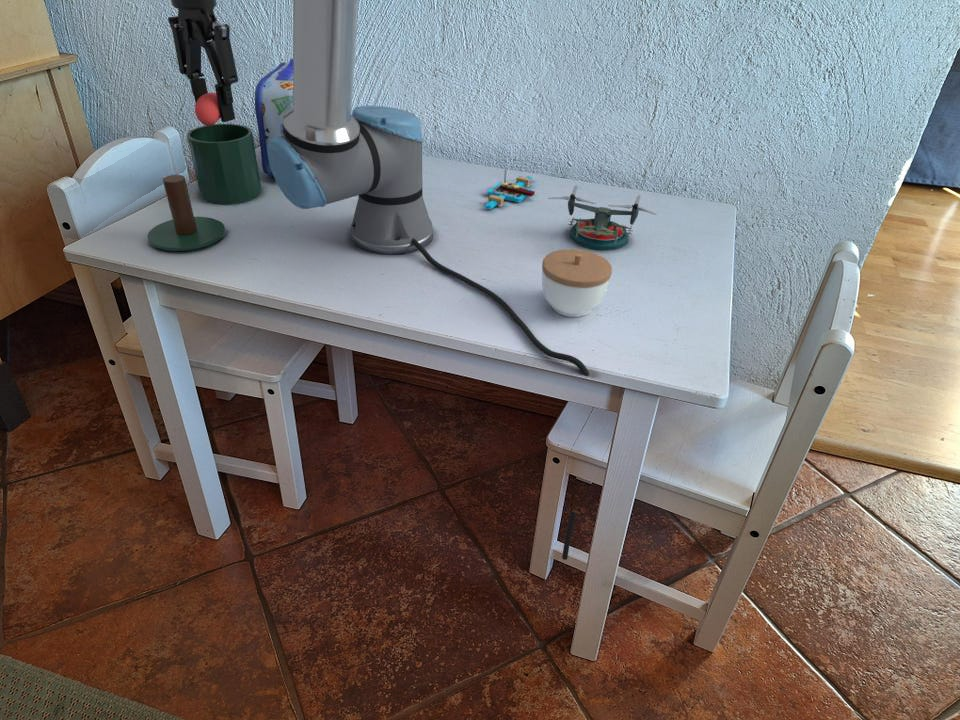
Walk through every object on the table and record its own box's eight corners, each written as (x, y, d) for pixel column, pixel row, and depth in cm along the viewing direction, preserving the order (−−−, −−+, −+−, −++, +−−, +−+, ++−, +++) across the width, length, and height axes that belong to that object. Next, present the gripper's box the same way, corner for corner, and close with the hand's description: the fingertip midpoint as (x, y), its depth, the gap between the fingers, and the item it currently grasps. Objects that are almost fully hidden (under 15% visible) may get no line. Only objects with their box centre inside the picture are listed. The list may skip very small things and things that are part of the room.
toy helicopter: (653, 233, 129) (661, 192, 124) (646, 268, 117) (655, 225, 112) (554, 217, 133) (558, 178, 128) (537, 250, 121) (541, 207, 116)
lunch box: (288, 144, 163) (275, 48, 150) (329, 145, 164) (320, 50, 151) (259, 185, 141) (241, 77, 128) (308, 187, 141) (295, 79, 128)
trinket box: (598, 291, 110) (606, 240, 104) (610, 326, 101) (620, 272, 96) (534, 289, 109) (540, 238, 104) (541, 325, 101) (547, 271, 95)
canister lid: (241, 233, 122) (230, 175, 116) (182, 260, 113) (166, 199, 106) (193, 216, 127) (180, 159, 121) (133, 241, 118) (115, 181, 111)
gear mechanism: (551, 186, 147) (514, 177, 151) (553, 162, 144) (515, 154, 148) (511, 216, 133) (471, 206, 136) (513, 191, 130) (472, 181, 133)
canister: (273, 190, 139) (264, 131, 132) (229, 209, 131) (216, 147, 123) (233, 178, 144) (222, 120, 137) (187, 195, 136) (173, 134, 128)
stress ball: (187, 128, 127) (184, 105, 121) (211, 99, 131) (210, 76, 126) (212, 141, 128) (211, 118, 122) (235, 112, 132) (235, 89, 126)
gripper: (245, -15, 113) (265, 121, 127) (172, -25, 121) (199, 104, 135) (210, -11, 108) (235, 131, 122) (136, -22, 116) (168, 112, 129)
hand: (216, 117), depth 128 cm, fingers closed on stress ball, 6 cm apart
